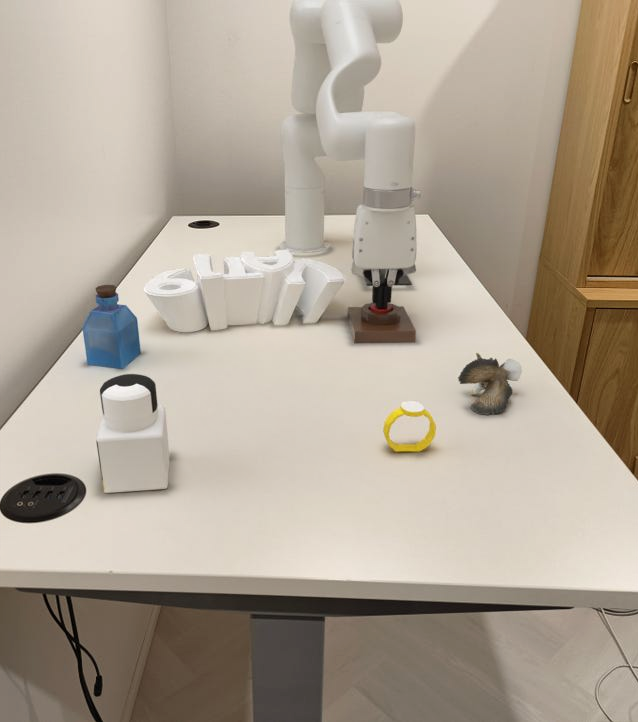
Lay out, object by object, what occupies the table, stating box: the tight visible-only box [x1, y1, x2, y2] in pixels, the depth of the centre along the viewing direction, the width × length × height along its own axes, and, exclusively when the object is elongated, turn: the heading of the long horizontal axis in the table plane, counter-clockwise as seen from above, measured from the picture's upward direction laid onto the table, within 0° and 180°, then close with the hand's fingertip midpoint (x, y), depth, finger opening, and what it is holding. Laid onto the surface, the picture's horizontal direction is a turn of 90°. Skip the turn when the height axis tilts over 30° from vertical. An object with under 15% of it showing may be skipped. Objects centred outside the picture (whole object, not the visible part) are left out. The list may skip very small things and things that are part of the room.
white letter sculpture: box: [143, 249, 346, 333], centre depth 122 cm, size 35×16×10 cm, turn 94°
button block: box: [347, 302, 417, 344], centre depth 117 cm, size 12×10×4 cm
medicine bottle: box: [95, 373, 170, 494], centre depth 76 cm, size 7×7×12 cm
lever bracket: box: [363, 269, 413, 287], centre depth 140 cm, size 12×9×12 cm
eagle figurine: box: [457, 352, 523, 416], centre depth 92 cm, size 8×7×9 cm
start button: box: [370, 304, 392, 313], centre depth 116 cm, size 4×4×2 cm
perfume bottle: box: [81, 284, 142, 370], centre depth 106 cm, size 6×6×12 cm
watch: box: [382, 400, 437, 453], centre depth 81 cm, size 6×3×6 cm, turn 93°
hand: (381, 306), depth 115 cm, fingers closed
